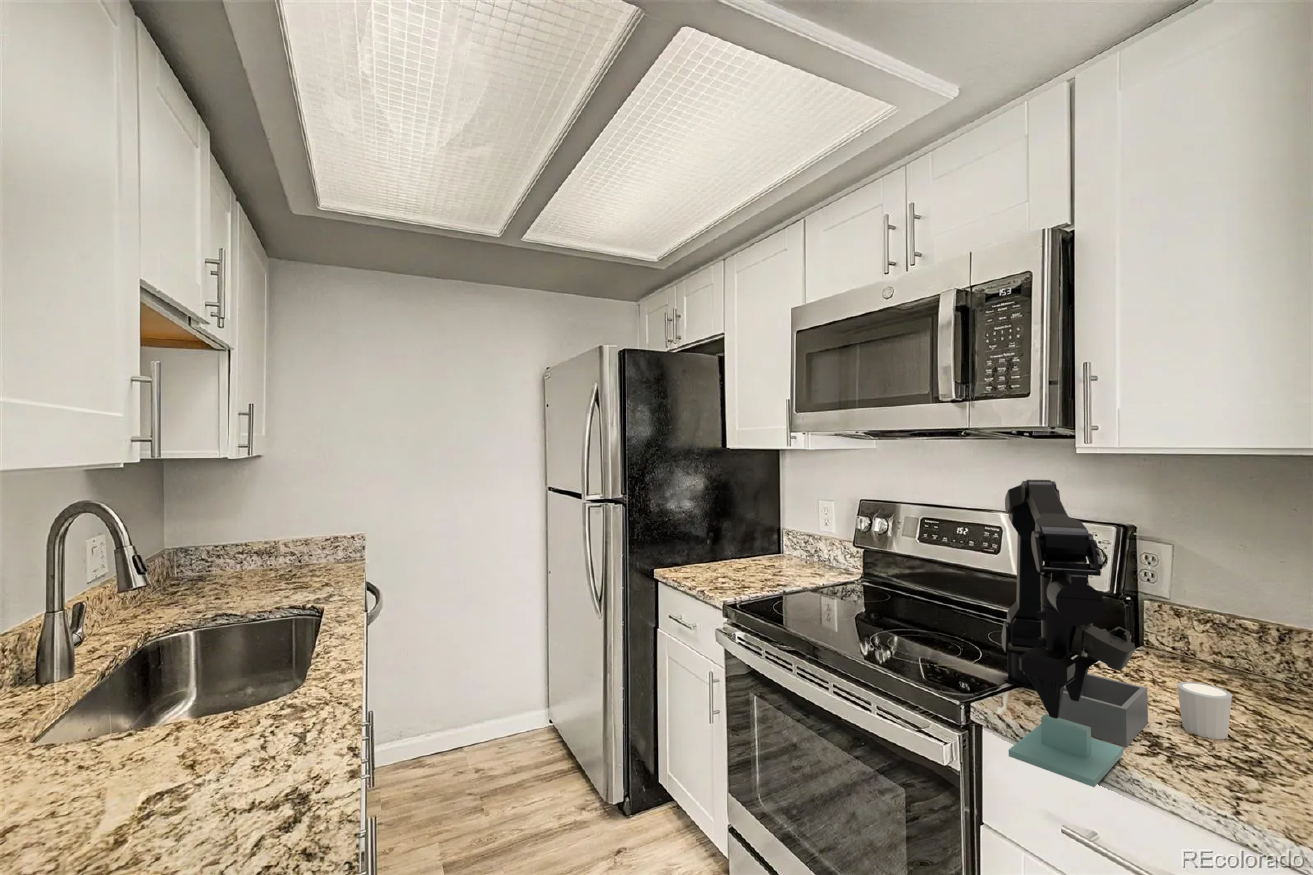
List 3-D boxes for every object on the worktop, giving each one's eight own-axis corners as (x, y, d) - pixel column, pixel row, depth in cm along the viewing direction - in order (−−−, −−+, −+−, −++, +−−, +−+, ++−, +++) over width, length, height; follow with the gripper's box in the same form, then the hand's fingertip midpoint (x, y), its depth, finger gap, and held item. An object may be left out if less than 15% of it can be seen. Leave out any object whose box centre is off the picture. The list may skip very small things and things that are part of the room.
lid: (1008, 762, 92) (1008, 723, 92) (1042, 734, 101) (1042, 698, 101) (1094, 794, 84) (1093, 751, 84) (1123, 760, 93) (1122, 721, 93)
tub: (1054, 725, 104) (1054, 689, 104) (1079, 703, 112) (1079, 671, 112) (1126, 747, 96) (1126, 709, 96) (1148, 722, 104) (1147, 687, 104)
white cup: (1216, 724, 104) (1216, 683, 104) (1243, 743, 97) (1242, 699, 97) (1169, 719, 105) (1168, 679, 105) (1192, 738, 99) (1191, 695, 99)
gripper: (1108, 631, 81) (1110, 749, 80) (1145, 606, 92) (1147, 709, 92) (1016, 613, 89) (1018, 719, 89) (1061, 593, 101) (1062, 686, 101)
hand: (1064, 708), depth 93 cm, fingers open, 9 cm apart
